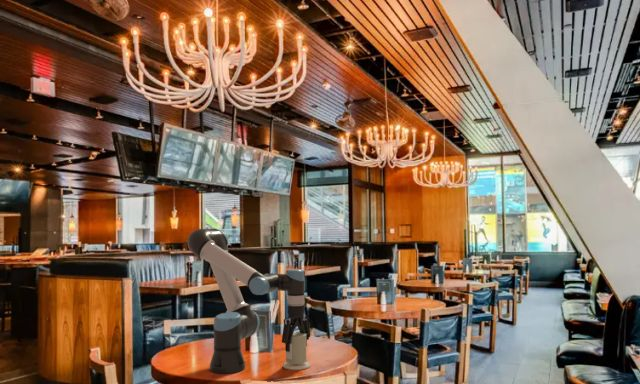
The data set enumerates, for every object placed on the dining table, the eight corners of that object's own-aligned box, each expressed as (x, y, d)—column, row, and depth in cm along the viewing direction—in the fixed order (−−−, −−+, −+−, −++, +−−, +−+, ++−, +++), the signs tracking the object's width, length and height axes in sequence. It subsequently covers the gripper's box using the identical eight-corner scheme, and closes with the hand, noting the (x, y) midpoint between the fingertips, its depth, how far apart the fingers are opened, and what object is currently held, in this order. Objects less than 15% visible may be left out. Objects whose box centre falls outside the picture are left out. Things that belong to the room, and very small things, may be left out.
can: (308, 358, 230) (308, 331, 231) (305, 364, 221) (304, 335, 221) (288, 358, 231) (287, 331, 232) (284, 363, 222) (283, 335, 223)
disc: (287, 371, 218) (287, 368, 218) (279, 364, 229) (279, 362, 229) (314, 368, 222) (314, 365, 222) (305, 361, 233) (305, 359, 233)
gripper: (305, 301, 238) (306, 350, 237) (272, 307, 222) (273, 360, 220) (318, 302, 233) (318, 353, 232) (285, 308, 217) (285, 363, 215)
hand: (296, 356), depth 226 cm, fingers closed on can, 9 cm apart
